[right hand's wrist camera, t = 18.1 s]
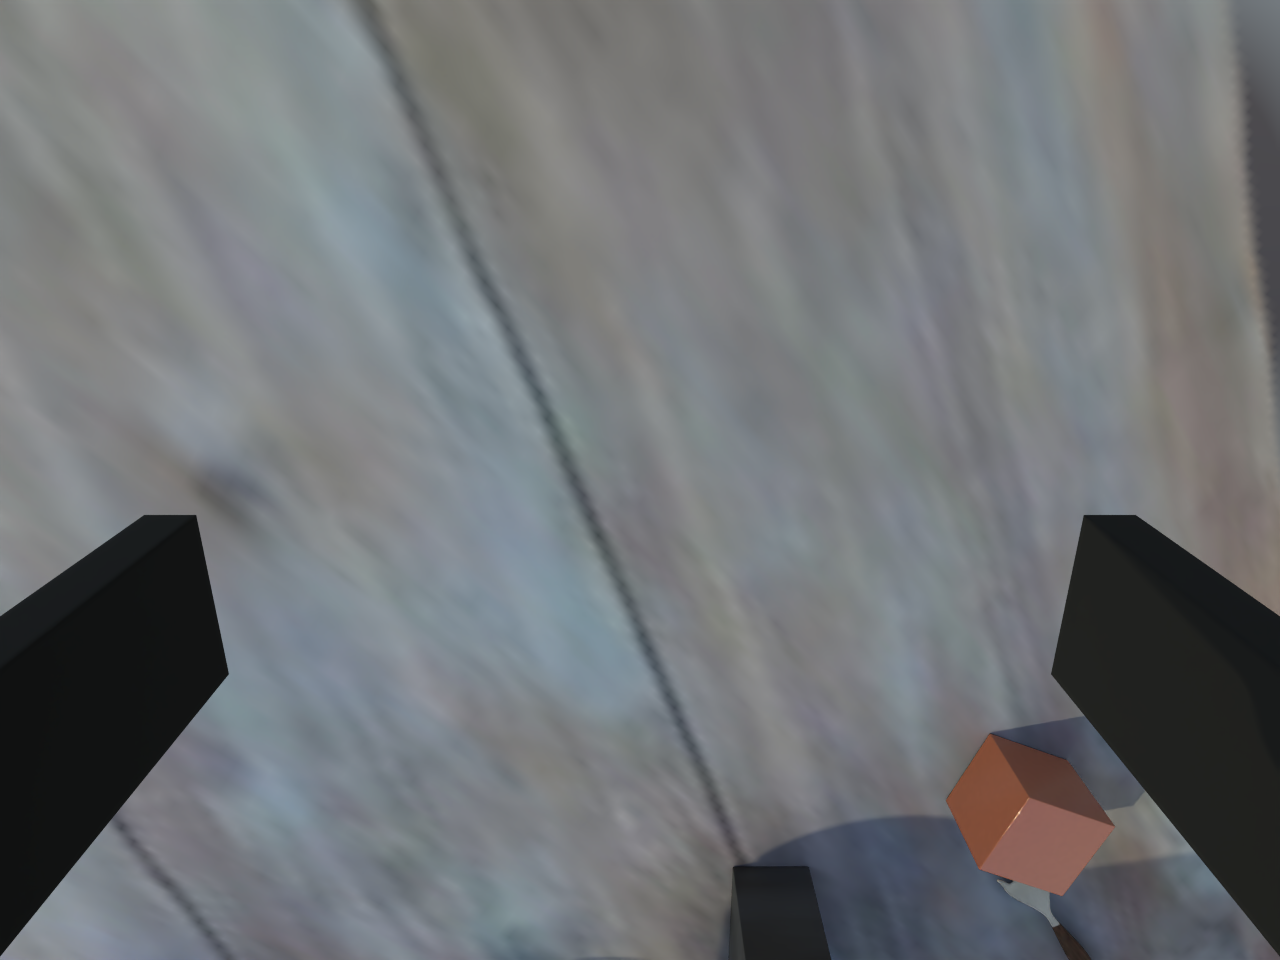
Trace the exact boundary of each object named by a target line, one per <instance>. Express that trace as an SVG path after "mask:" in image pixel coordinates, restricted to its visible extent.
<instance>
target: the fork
mask: <svg viewBox="0 0 1280 960" xmlns="http://www.w3.org/2000/svg"><path fill="white" fill-rule="evenodd" d="M997 882H998V883H1000V884H1001V885H1002V887H1003V888H1004V890H1005V891H1006V892H1007V893H1008V894H1009V895H1010V896H1012V897H1013V898H1015V899H1016V900H1018V901H1020V902H1022V903H1024V904H1026V905H1028V906H1030V907H1032V908H1034V909H1036V910H1037V911H1039V912H1041V913H1042V914H1043V915H1044V916H1045V917H1046V918H1047V919H1048V921H1049V922H1050V924H1051V926H1052V928H1053V930H1054V932H1055V934H1056V936H1057V938H1058V940H1059V942H1060V944H1061V946H1062V948H1063V950H1064V952H1065V954H1066V955H1067V957H1068V959H1069V960H1091V958H1090V957H1089V955H1088V954H1087V952H1086V951H1085V950H1084V949H1083V947H1082V946H1081V945H1080V944H1079V943H1078V942H1077V941H1076V940H1075V939H1074V938H1073V937H1072V935H1071V934H1070V933H1069V932H1068V931H1067V930H1066V929H1065V928H1064V927H1063V926H1062V925H1061V924H1060V923H1059V922H1058V921H1057V920H1056V918H1055V917H1054V916H1053V915H1052V913H1051V910H1050V892H1048V891H1044V890H1041V889H1038V888H1035V887H1032V886H1029V885H1026V884H1023V883H1020V882H1017V881H1013V882H1012V883H1006V882H1004V881H1002V880H999V879H997Z"/></svg>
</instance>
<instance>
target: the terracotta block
mask: <svg viewBox="0 0 1280 960" xmlns="http://www.w3.org/2000/svg"><path fill="white" fill-rule="evenodd" d="M946 802H947V804H948V806H949V808H950V810H951V812H952V814H953V816H954V818H955V820H956V823H957V825H958V827H959V829H960V831H961V833H962V835H963V837H964V839H965V841H966V843H967V845H968V847H969V849H970V852H971V854H972V856H973V858H974V860H975V862H976V864H977V866H978V868H979V869H980V870H983V871H986V872H989V873H992V874H995V875H998V876H1001V877H1004V878H1007V879H1010V880H1013V881H1017V882H1020V883H1023V884H1026V885H1029V886H1032V887H1035V888H1038V889H1041V890H1044V891H1048V892H1051V893H1054V894H1057V895H1060V896H1063V895H1064V894H1065V892H1066V891H1067V890H1068V888H1069V887H1070V886H1071V884H1072V883H1073V882H1074V880H1075V879H1076V878H1077V876H1078V875H1079V874H1080V873H1081V871H1082V870H1083V869H1084V867H1085V866H1086V865H1087V863H1088V862H1089V861H1090V859H1091V858H1092V857H1093V855H1094V854H1095V853H1096V852H1097V850H1098V849H1099V848H1100V846H1101V845H1102V844H1103V842H1104V841H1105V840H1106V838H1107V837H1108V836H1109V834H1110V833H1111V832H1112V830H1113V829H1114V828H1115V826H1114V824H1113V823H1112V821H1111V820H1110V819H1109V817H1108V816H1107V814H1106V813H1105V812H1104V810H1103V809H1102V808H1101V806H1100V805H1099V803H1098V802H1097V801H1096V799H1095V798H1094V796H1093V795H1092V794H1091V792H1090V791H1089V789H1088V788H1087V787H1086V785H1085V784H1084V783H1083V781H1082V780H1081V778H1080V777H1079V776H1078V774H1077V773H1076V771H1075V770H1074V769H1073V767H1072V766H1071V764H1070V763H1069V762H1068V761H1067V760H1065V759H1062V758H1059V757H1056V756H1053V755H1050V754H1048V753H1045V752H1042V751H1039V750H1036V749H1033V748H1030V747H1027V746H1025V745H1022V744H1019V743H1016V742H1013V741H1010V740H1007V739H1004V738H1002V737H999V736H996V735H993V734H989V736H988V737H987V739H986V740H985V742H984V743H983V745H982V746H981V748H980V749H979V751H978V752H977V754H976V755H975V757H974V758H973V760H972V761H971V763H970V764H969V766H968V767H967V769H966V770H965V772H964V774H963V775H962V777H961V778H960V780H959V781H958V783H957V784H956V786H955V787H954V789H953V790H952V792H951V793H950V795H949V796H948V798H947V799H946Z"/></svg>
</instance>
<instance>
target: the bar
mask: <svg viewBox="0 0 1280 960" xmlns="http://www.w3.org/2000/svg"><path fill="white" fill-rule="evenodd" d="M729 960H831V957H830V953H829V949H828V944H827V940H826V936H825V932H824V928H823V924H822V920H821V916H820V911H819V907H818V903H817V899H816V895H815V891H814V887H813V882H812V878H811V874H810V870H809V867H733V878H732V899H731V920H730V941H729Z"/></svg>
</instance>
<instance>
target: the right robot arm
mask: <svg viewBox="0 0 1280 960" xmlns="http://www.w3.org/2000/svg"><path fill="white" fill-rule="evenodd" d="M228 675H229V672H228V668H227V663H226V658H225V653H224V648H223V643H222V638H221V634H220V629H219V624H218V619H217V614H216V609H215V604H214V600H213V595H212V590H211V585H210V580H209V575H208V571H207V566H206V561H205V556H204V551H203V546H202V541H201V537H200V532H199V527H198V522H197V517H196V515H144V516H142V517H141V518H139V519H138V520H137V521H135V522H134V523H132V524H131V525H130V526H128V527H127V528H125V529H124V530H122V531H121V532H120V533H118V534H117V535H115V536H114V537H112V538H111V539H110V540H108V541H107V542H105V543H104V544H102V545H101V546H100V547H98V548H97V549H95V550H94V551H93V552H91V553H90V554H88V555H87V556H85V557H84V558H83V559H81V560H80V561H78V562H77V563H75V564H74V565H73V566H71V567H70V568H68V569H67V570H66V571H64V572H63V573H61V574H60V575H58V576H57V577H56V578H54V579H53V580H51V581H50V582H48V583H47V584H46V585H44V586H43V587H41V588H40V589H38V590H37V591H36V592H34V593H33V594H31V595H30V596H29V597H27V598H26V599H24V600H23V601H21V602H20V603H19V604H17V605H16V606H14V607H13V608H11V609H10V610H9V611H7V612H6V613H4V614H3V615H2V616H0V956H1V955H2V953H3V952H4V951H5V950H6V949H7V947H8V946H9V945H10V944H11V942H12V941H13V940H14V939H15V937H16V936H17V935H18V934H19V933H20V931H21V930H22V929H23V928H24V926H25V925H26V924H27V923H28V921H29V920H30V919H31V918H32V916H33V915H34V914H35V913H36V912H37V910H38V909H39V908H40V907H41V905H42V904H43V903H44V902H45V900H46V899H47V898H48V897H49V895H50V894H51V893H52V892H53V891H54V889H55V888H56V887H57V886H58V884H59V883H60V882H61V881H62V879H63V878H64V877H65V876H66V874H67V873H68V872H69V871H70V870H71V868H72V867H73V866H74V865H75V863H76V862H77V861H78V860H79V858H80V857H81V856H82V855H83V854H84V852H85V851H86V850H87V849H88V847H89V846H90V845H91V844H92V842H93V841H94V840H95V839H96V837H97V836H98V835H99V834H100V833H101V831H102V830H103V829H104V828H105V826H106V825H107V824H108V823H109V821H110V820H111V819H112V818H113V816H114V815H115V814H116V813H117V812H118V810H119V809H120V808H121V807H122V805H123V804H124V803H125V802H126V800H127V799H128V798H129V797H130V795H131V794H132V793H133V792H134V791H135V789H136V788H137V787H138V786H139V784H140V783H141V782H142V781H143V779H144V778H145V777H146V776H147V774H148V773H149V772H150V771H151V770H152V768H153V767H154V766H155V765H156V763H157V762H158V761H159V760H160V758H161V757H162V756H163V755H164V754H165V752H166V751H167V750H168V749H169V747H170V746H171V745H172V744H173V742H174V741H175V740H176V739H177V737H178V736H179V735H180V734H181V733H182V731H183V730H184V729H185V728H186V726H187V725H188V724H189V723H190V721H191V720H192V719H193V718H194V716H195V715H196V714H197V713H198V712H199V710H200V709H201V708H202V707H203V705H204V704H205V703H206V702H207V700H208V699H209V698H210V697H211V695H212V694H213V693H214V692H215V691H216V689H217V688H218V687H219V686H220V684H221V683H222V682H223V681H224V679H225V678H226V677H227V676H228ZM1051 675H1052V676H1053V677H1054V678H1055V679H1056V681H1057V682H1058V683H1059V684H1060V686H1061V687H1062V688H1063V689H1064V691H1065V692H1066V693H1067V694H1068V695H1069V697H1070V698H1071V699H1072V700H1073V702H1074V703H1075V704H1076V705H1077V707H1078V708H1079V709H1080V710H1081V712H1082V713H1083V714H1084V715H1085V716H1086V718H1087V719H1088V720H1089V721H1090V723H1091V724H1092V725H1093V726H1094V728H1095V729H1096V730H1097V731H1098V733H1099V734H1100V735H1101V736H1102V737H1103V739H1104V740H1105V741H1106V742H1107V744H1108V745H1109V746H1110V747H1111V749H1112V750H1113V751H1114V752H1115V754H1116V755H1117V756H1118V757H1119V758H1120V760H1121V761H1122V762H1123V763H1124V765H1125V766H1126V767H1127V768H1128V770H1129V771H1130V772H1131V773H1132V774H1133V776H1134V777H1135V778H1136V779H1137V781H1138V782H1139V783H1140V784H1141V786H1142V787H1143V788H1144V789H1145V791H1146V792H1147V793H1148V794H1149V795H1150V797H1151V798H1152V799H1153V800H1154V802H1155V803H1156V804H1157V805H1158V807H1159V808H1160V809H1161V810H1162V812H1163V813H1164V814H1165V815H1166V816H1167V818H1168V819H1169V820H1170V821H1171V823H1172V824H1173V825H1174V826H1175V828H1176V829H1177V830H1178V831H1179V833H1180V834H1181V835H1182V836H1183V837H1184V839H1185V840H1186V841H1187V842H1188V844H1189V845H1190V846H1191V847H1192V849H1193V850H1194V851H1195V852H1196V854H1197V855H1198V856H1199V857H1200V858H1201V860H1202V861H1203V862H1204V863H1205V865H1206V866H1207V867H1208V868H1209V870H1210V871H1211V872H1212V873H1213V874H1214V876H1215V877H1216V878H1217V879H1218V881H1219V882H1220V883H1221V884H1222V886H1223V887H1224V888H1225V889H1226V891H1227V892H1228V893H1229V894H1230V895H1231V897H1232V898H1233V899H1234V900H1235V902H1236V903H1237V904H1238V905H1239V907H1240V908H1241V909H1242V910H1243V912H1244V913H1245V914H1246V915H1247V916H1248V918H1249V919H1250V920H1251V921H1252V923H1253V924H1254V925H1255V926H1256V928H1257V929H1258V930H1259V931H1260V933H1261V934H1262V935H1263V936H1264V937H1265V939H1266V940H1267V941H1268V942H1269V944H1270V945H1271V946H1272V947H1273V949H1274V950H1275V951H1276V952H1277V953H1278V955H1279V956H1280V616H1278V615H1277V614H1276V613H1274V612H1273V611H1271V610H1270V609H1269V608H1267V607H1266V606H1264V605H1263V604H1261V603H1260V602H1259V601H1257V600H1256V599H1254V598H1253V597H1251V596H1250V595H1249V594H1247V593H1246V592H1244V591H1243V590H1242V589H1240V588H1239V587H1237V586H1236V585H1234V584H1233V583H1232V582H1230V581H1229V580H1227V579H1226V578H1224V577H1223V576H1222V575H1220V574H1219V573H1217V572H1216V571H1214V570H1213V569H1212V568H1210V567H1209V566H1207V565H1206V564H1205V563H1203V562H1202V561H1200V560H1199V559H1197V558H1196V557H1195V556H1193V555H1192V554H1190V553H1189V552H1187V551H1186V550H1185V549H1183V548H1182V547H1180V546H1179V545H1178V544H1176V543H1175V542H1173V541H1172V540H1170V539H1169V538H1168V537H1166V536H1165V535H1163V534H1162V533H1160V532H1159V531H1158V530H1156V529H1155V528H1153V527H1152V526H1150V525H1149V524H1148V523H1146V522H1145V521H1143V520H1142V519H1141V518H1139V517H1138V516H1136V515H1084V517H1083V522H1082V527H1081V532H1080V537H1079V541H1078V546H1077V551H1076V556H1075V561H1074V566H1073V571H1072V575H1071V580H1070V585H1069V590H1068V595H1067V600H1066V604H1065V609H1064V614H1063V619H1062V624H1061V629H1060V634H1059V638H1058V643H1057V648H1056V653H1055V658H1054V663H1053V668H1052V672H1051Z"/></svg>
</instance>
